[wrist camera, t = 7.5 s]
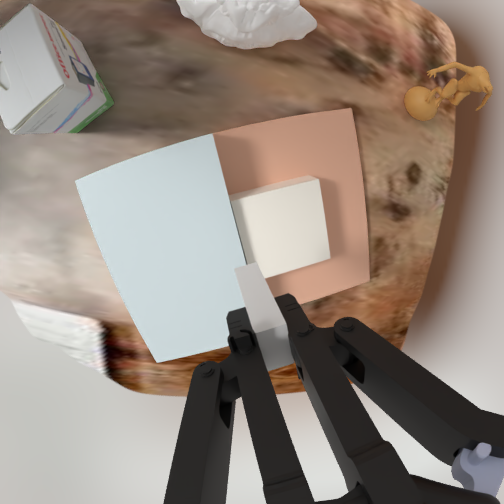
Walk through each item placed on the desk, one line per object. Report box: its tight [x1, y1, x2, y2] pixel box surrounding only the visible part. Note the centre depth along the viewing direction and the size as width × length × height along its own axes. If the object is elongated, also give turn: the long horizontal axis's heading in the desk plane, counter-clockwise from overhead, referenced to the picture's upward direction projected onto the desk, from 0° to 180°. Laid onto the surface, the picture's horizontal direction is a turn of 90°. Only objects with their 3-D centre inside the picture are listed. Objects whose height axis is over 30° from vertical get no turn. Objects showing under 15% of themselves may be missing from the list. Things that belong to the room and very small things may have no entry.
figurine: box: [404, 62, 493, 121], centre depth 20 cm, size 8×6×12 cm
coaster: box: [229, 175, 330, 278], centre depth 27 cm, size 8×8×2 cm
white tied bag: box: [176, 0, 317, 49], centre depth 17 cm, size 12×8×11 cm
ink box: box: [0, 3, 114, 135], centre depth 15 cm, size 9×5×12 cm, turn 28°
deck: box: [75, 133, 246, 363], centre depth 27 cm, size 20×12×4 cm, turn 13°
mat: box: [212, 108, 370, 305], centre depth 29 cm, size 20×14×1 cm
